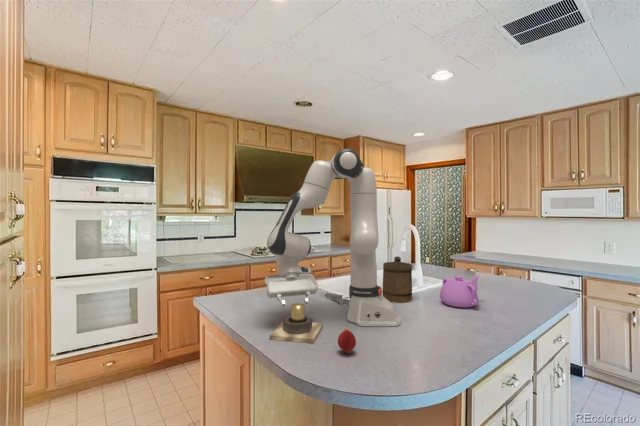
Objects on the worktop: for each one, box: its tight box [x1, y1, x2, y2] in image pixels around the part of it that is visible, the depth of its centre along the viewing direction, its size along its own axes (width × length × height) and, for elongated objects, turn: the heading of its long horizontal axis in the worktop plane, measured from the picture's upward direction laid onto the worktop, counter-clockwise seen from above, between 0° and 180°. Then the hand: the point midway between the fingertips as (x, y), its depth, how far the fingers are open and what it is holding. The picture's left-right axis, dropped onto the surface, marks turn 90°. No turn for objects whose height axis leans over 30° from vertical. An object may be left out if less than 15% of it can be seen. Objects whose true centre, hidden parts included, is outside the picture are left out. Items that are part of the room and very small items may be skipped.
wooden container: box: [382, 256, 413, 303], centre depth 167 cm, size 15×15×22 cm
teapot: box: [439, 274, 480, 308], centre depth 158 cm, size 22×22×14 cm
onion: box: [337, 327, 357, 354], centre depth 103 cm, size 6×6×8 cm
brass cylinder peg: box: [290, 302, 306, 323], centre depth 120 cm, size 5×5×9 cm
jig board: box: [269, 315, 324, 344], centre depth 120 cm, size 16×16×5 cm
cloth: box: [324, 292, 350, 307], centre depth 166 cm, size 26×14×2 cm, turn 12°
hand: (295, 304), depth 123 cm, fingers open, 8 cm apart
